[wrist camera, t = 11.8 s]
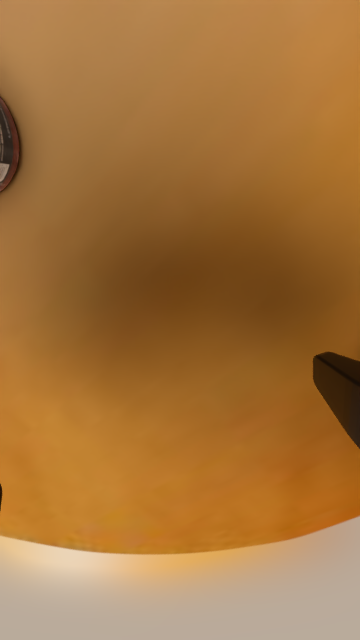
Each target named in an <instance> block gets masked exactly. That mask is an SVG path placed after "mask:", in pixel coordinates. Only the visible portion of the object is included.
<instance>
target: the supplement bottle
mask: <svg viewBox="0 0 360 640" xmlns="http://www.w3.org/2000/svg"><path fill="white" fill-rule="evenodd" d="M18 160H19V139H18V135H17V130H16V127H15V124H14V121H13V118H12V116H11V114H10V112H9V110H8V108H7V106H6V105H5V103H4V101H3V100H2V98H1V97H0V191H2V190H3V189H4V188H5V187H6V186H7V185H8V184H9V182H10V181H11V179H12V177H13V175H14V173H15V171H16V169H17V164H18Z"/></svg>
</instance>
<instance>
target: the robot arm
mask: <svg viewBox="0 0 360 640" xmlns="http://www.w3.org/2000/svg"><path fill="white" fill-rule="evenodd" d="M313 380H314V383H315V385H316V387H317V389H318V390H319V392H320V393H321V395H322V396H323V398H324V399H325V401H326V402H327V404H328V405H329V407H330V408H331V410H332V411H333V413H334V414H335V416H336V417H337V419H338V420H339V422H340V423H341V425H342V426H343V428H344V429H345V431H346V432H347V434H348V435H349V436H350V437H351V439H352V440H353V441H354V443H355V444H356V445H357V446H358V447H359V449H360V362H359V361H357V360H354V359H351V358H348V357H345V356H342V355H339V354H336V353H333V352H324V353H321V354H318V355H316V356H314V358H313ZM1 500H2V487H1V484H0V509H1Z"/></svg>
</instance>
